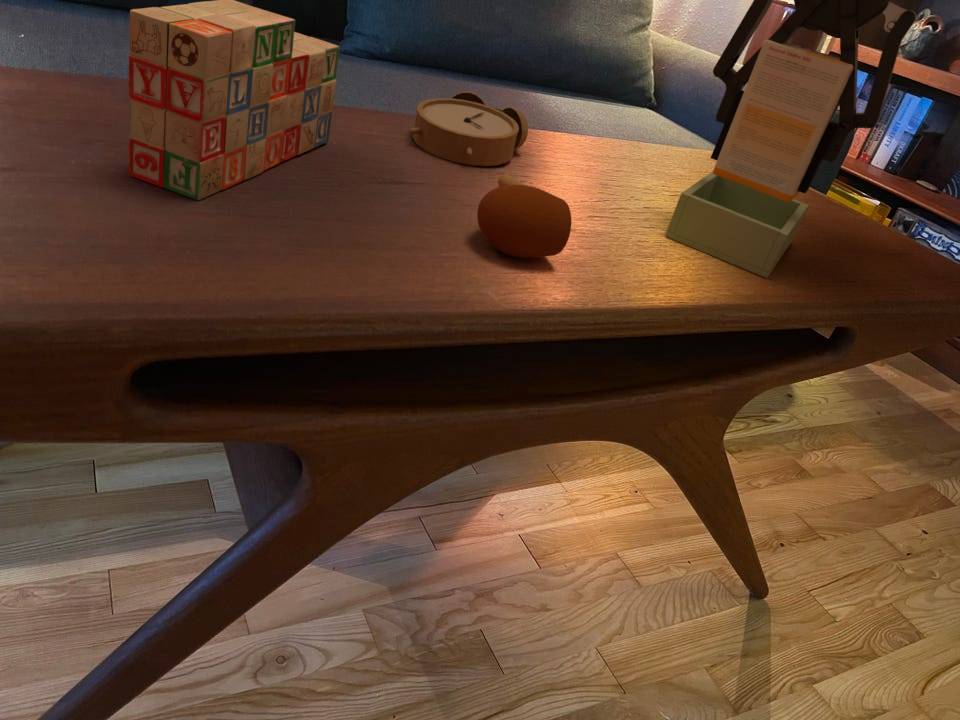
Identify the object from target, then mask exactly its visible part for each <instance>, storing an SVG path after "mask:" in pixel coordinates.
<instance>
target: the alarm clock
mask: <svg viewBox="0 0 960 720" xmlns="http://www.w3.org/2000/svg"><path fill="white" fill-rule="evenodd" d="M408 131H409V133H410V134H412V138H413V141H414V142H415V144H416V145H418V146H419V147H420V148H421V149H422V150H424V151H425V152H426V153H427V152H428V153H429V154H431V155H434V156H436V157H437V158H441V159H444V160H447V161H450V162H453V163H458V164H463V165H467V166H479V167H491V166H500V165H503V164H507V163H509V161H511V159H512V158H513V156H514V151H516V150H518V149H519V148H521V147H522V146H523V145H524V144H525V142H526V140H527V138H528V135H529V134H528V133H529V125H528V120H527V117H526V116H525V115H524V114H523V113H522V112H521V110H519V109H517V108H514V107H505V108H504V109H502V108H499V107H495V106H491V105H486V104H485V102H484V101H483V99H482V98H481V97H480V96H479V95H478V94H476V93H475V92H472V91H461V92H458V93H456V94H455V95H453V96H452V97H451V98H449V97H445V98H444V97H439V98H438V97H437V98H429V99H425V100H423V101H421V102H419V103H418V105H417V108H416V116H415V123H414V127H412V128H410V129H409V130H408Z"/></svg>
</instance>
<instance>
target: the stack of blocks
mask: <svg viewBox="0 0 960 720" xmlns="http://www.w3.org/2000/svg"><path fill="white" fill-rule="evenodd" d="M295 27H296V19H294V18H291V17H289V16H285V15H282V14H279V13H275V12H272V11H269V10H265V9H262V8H259V7H255V6H251V5H249V4H247V3H244V2H241V1H237V0H207V1H196V2H189V3H187V4H186V3H185V4H176V5H167V6H166V5H165V6H160V7H159V6H152V7H143V8H133V9H130V11H129V51H130V52H129V53H130V54H129V55H128V83H127V84H128V98H129V140H128V141H129V142H128V143H129V144H128V148H129V149H128V152H129V153H128V155H129V156H128V157H129V159H128V160H129V162H128V166H129V167H128V172H129V176H131V177H132V178H135V179H138V180H141V181H143V182H147V183H148V184H152V185H155V186H157V187H160V188H165V189H166V190H169V191H172V192H173V193H177V194H179V195H182V196H184V197H187V198H190V199H193V200H195V201H200V200H203V199H205V198H207V197H209V196H211V195H214V194H216V193H218V192H220V191H225V190H226V189H229V188H231V187H234V186H235V185H238V184H240V183H242V182H244V181H246V180H248V179H251V178H254V177H256V176H258V175H260V174H262V173H263V172H264V171H267V170H268V169H270V168H272V167H274V166H277V165H279V164H281V163H283V162H286V161H287V160H289V159H292V158H294V157H296V156H299V155H302V154H304V153H306V152H309V151H311V150H312V149H314V148H317V147H320V146H321V145H322V146H323V145H324V144H326V143H328V142H329V139H330V131H331V124H332V118H333V110H334V106H335V105H334V104H335V99H336V89H337V83H338V82H337V79H336V77H337V72H338V65H339V57H340V49H341V46H339V45H337V44H335V43H331V42H328V41H325V40H323V39H319V38H316V37H313V36H308V35H305V34H302V33H300V32H297V31H295Z"/></svg>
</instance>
